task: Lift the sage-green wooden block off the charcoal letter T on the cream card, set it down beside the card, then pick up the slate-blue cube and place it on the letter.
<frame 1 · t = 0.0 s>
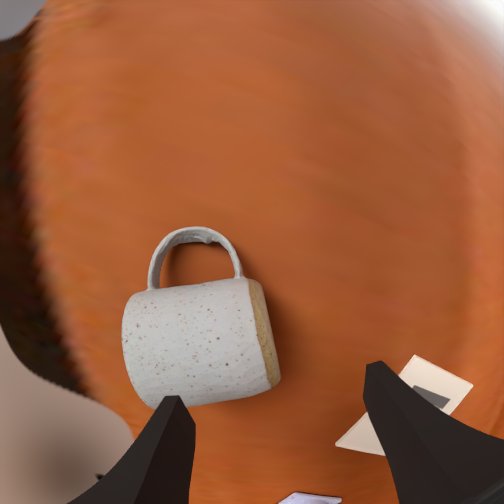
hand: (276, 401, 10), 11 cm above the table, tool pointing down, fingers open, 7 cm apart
ceramic mug: (205, 301, 21), on the table
letter card: (410, 415, 23), on the table
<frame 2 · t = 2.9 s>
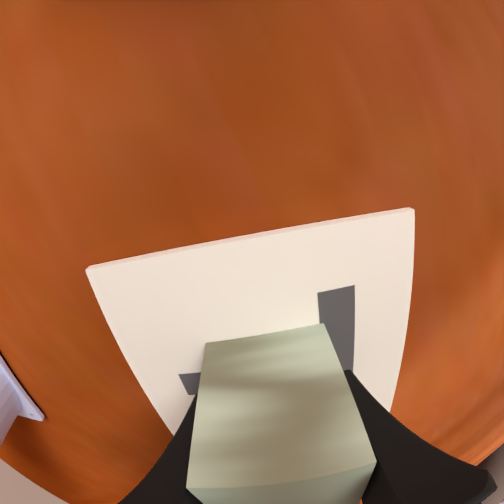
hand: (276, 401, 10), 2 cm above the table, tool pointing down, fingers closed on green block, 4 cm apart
green block: (272, 374, 11), resting on letter card, touching gripper
letter card: (271, 368, 12), on the table
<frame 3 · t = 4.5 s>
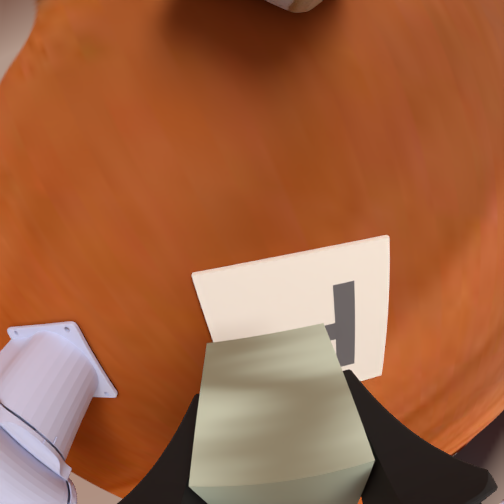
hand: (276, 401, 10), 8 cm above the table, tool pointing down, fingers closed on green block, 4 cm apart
green block: (273, 374, 11), point 7 cm above the table, touching gripper
letter card: (304, 334, 19), on the table
when the fingers open (3 cm above the table, at t = 6.4 s): green block drops 1 cm, on the table.
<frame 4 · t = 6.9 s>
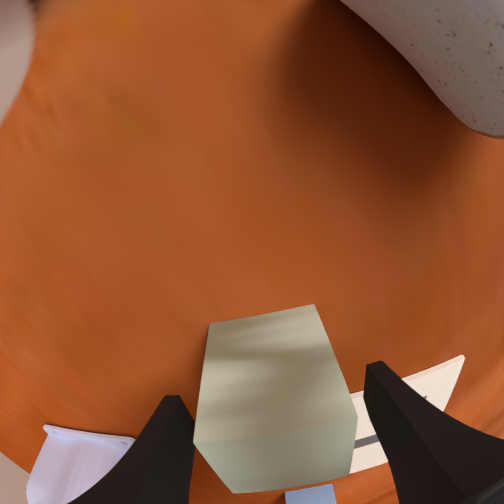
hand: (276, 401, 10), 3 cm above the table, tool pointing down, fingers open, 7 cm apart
ceramic mug: (419, 9, 7), on the table
green block: (270, 353, 13), on the table
blue cube: (308, 494, 21), on the table
letter card: (372, 435, 16), on the table
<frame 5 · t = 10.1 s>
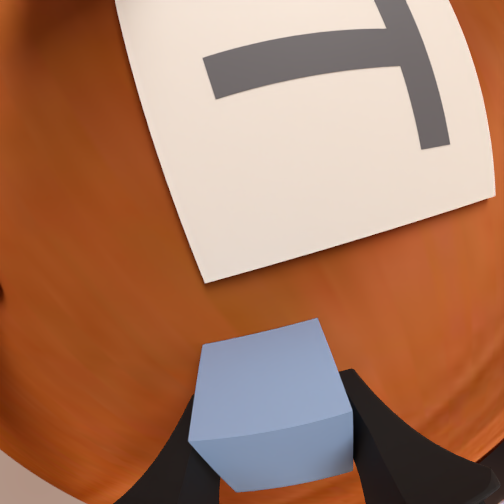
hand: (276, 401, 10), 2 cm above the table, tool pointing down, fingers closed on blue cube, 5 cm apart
blue cube: (272, 372, 11), on the table, touching gripper
letter card: (333, 53, 7), on the table
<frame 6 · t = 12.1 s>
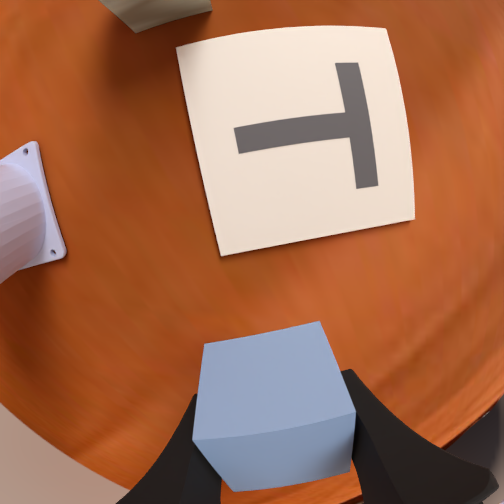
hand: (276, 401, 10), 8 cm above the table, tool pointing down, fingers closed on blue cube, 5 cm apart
blue cube: (271, 373, 12), point 7 cm above the table, touching gripper
letter card: (308, 129, 14), on the table
when the fingers open (3 cm above the table, at t = 14.2 s): blue cube stays where it is, resting on letter card.
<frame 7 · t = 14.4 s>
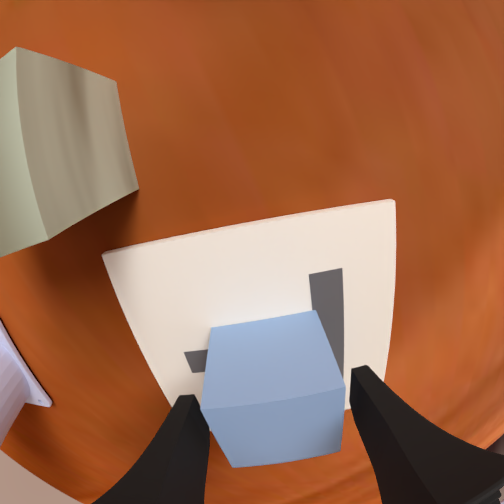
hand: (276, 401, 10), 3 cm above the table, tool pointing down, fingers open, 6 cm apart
green block: (79, 151, 10), on the table
blue cube: (270, 357, 13), resting on letter card
letter card: (269, 346, 13), on the table
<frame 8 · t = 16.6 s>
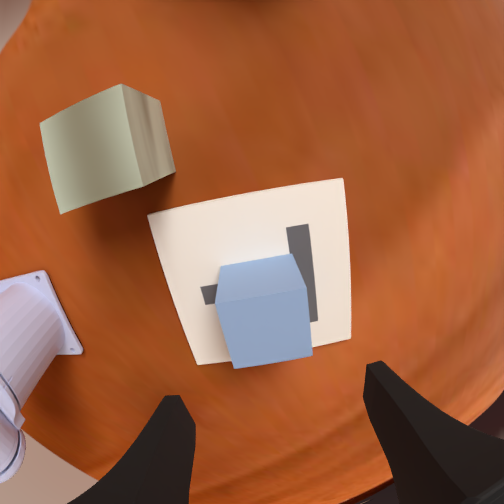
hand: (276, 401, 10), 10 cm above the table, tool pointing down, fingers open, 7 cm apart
green block: (133, 146, 16), on the table
blue cube: (262, 291, 19), resting on letter card
letter card: (261, 283, 19), on the table
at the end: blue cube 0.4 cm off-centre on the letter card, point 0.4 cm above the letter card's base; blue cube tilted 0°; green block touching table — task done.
